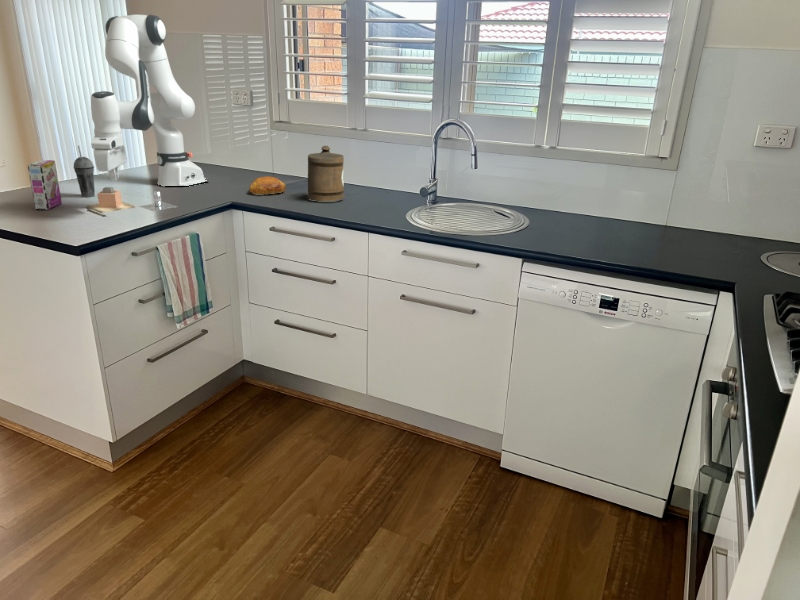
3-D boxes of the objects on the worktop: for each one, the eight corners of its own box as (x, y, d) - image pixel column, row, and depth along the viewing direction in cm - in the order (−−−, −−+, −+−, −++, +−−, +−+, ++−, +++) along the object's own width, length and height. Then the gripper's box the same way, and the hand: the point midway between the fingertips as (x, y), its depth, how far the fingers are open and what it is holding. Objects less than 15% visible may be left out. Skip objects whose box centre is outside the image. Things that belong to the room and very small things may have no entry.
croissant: (288, 200, 256) (290, 181, 253) (251, 197, 249) (253, 178, 246) (279, 192, 268) (281, 174, 265) (244, 189, 260) (246, 171, 258)
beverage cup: (102, 194, 242) (94, 144, 234) (91, 198, 235) (83, 147, 228) (85, 193, 242) (77, 143, 235) (74, 197, 236) (65, 146, 228)
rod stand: (164, 205, 228) (162, 187, 226) (178, 210, 223) (176, 192, 220) (139, 210, 221) (136, 191, 219) (153, 215, 215) (151, 195, 213)
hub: (119, 205, 226) (116, 183, 223) (135, 211, 219) (132, 188, 216) (87, 210, 217) (83, 187, 214) (103, 216, 211) (99, 193, 207)
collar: (105, 203, 220) (103, 190, 218) (122, 204, 221) (120, 190, 219) (99, 207, 215) (97, 193, 213) (116, 207, 215) (114, 194, 213)
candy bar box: (49, 210, 216) (41, 164, 210) (35, 210, 216) (26, 164, 210) (63, 203, 226) (55, 159, 220) (49, 203, 226) (41, 159, 220)
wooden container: (350, 200, 250) (351, 146, 242) (323, 204, 240) (323, 149, 232) (327, 194, 259) (327, 142, 251) (300, 198, 249) (299, 144, 241)
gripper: (110, 136, 218) (115, 174, 223) (88, 144, 199) (95, 185, 205) (128, 137, 219) (133, 175, 224) (108, 144, 200) (114, 185, 205)
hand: (114, 180), depth 214 cm, fingers closed
